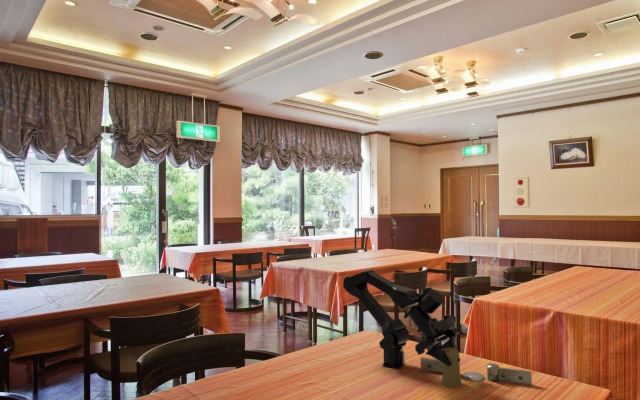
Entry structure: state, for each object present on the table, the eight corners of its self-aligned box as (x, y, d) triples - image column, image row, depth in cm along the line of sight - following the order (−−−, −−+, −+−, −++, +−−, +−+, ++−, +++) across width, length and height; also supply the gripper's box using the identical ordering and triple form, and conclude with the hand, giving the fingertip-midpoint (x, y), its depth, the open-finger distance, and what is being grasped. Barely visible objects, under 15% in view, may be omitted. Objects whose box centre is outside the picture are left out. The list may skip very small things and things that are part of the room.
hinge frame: (419, 373, 140) (419, 359, 140) (423, 366, 146) (422, 353, 146) (532, 389, 126) (531, 374, 126) (531, 380, 132) (530, 366, 132)
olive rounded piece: (462, 388, 127) (461, 352, 128) (442, 386, 129) (441, 351, 129) (460, 380, 133) (459, 345, 134) (440, 379, 135) (440, 344, 135)
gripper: (422, 312, 128) (456, 357, 120) (453, 302, 141) (485, 342, 132) (402, 332, 134) (432, 377, 125) (433, 321, 146) (463, 361, 138)
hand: (455, 363), depth 130 cm, fingers closed on olive rounded piece, 5 cm apart
